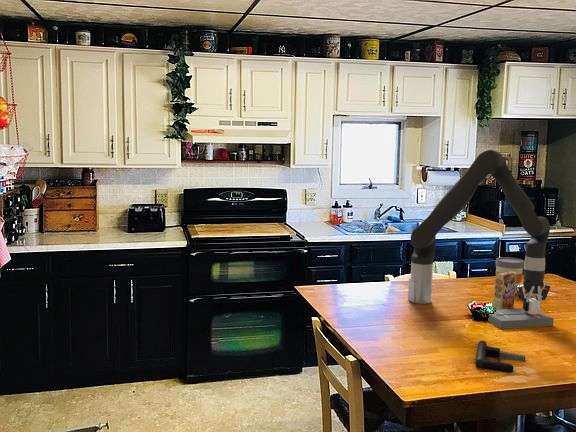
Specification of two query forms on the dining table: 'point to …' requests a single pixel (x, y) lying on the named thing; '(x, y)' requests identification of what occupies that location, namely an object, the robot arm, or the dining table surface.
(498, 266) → the reusable coffee cup
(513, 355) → the door handle
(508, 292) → the candy box
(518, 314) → the console board
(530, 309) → the slider knob
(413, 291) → the robot arm
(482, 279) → the dining table surface
